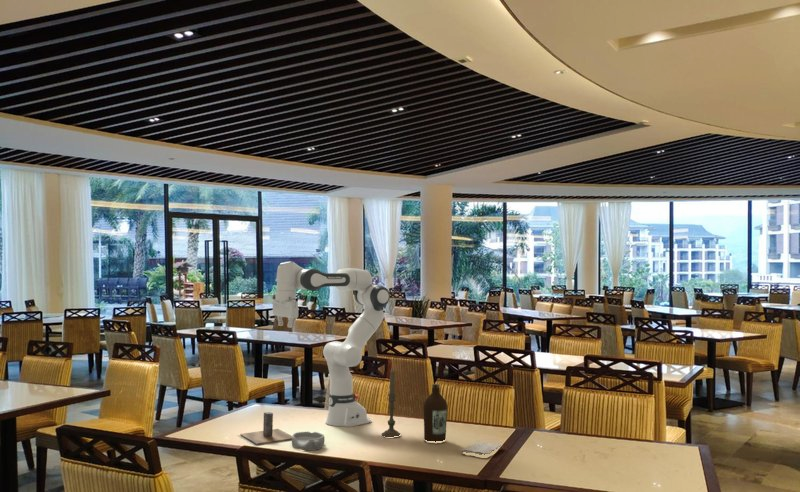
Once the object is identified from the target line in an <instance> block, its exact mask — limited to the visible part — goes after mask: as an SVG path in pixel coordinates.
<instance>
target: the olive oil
mask: <svg viewBox="0 0 800 492" xmlns="http://www.w3.org/2000/svg"><path fill="white" fill-rule="evenodd" d="M431 386H432V387H431V394H430V395H429V396H427V398H425V400H424V403H423V436H424V437H423V439H425V440H427V441H435V442H436V441H443V440H445V439H446V438H447V437H446V436H447V421H448V420H447V419H448V403H447V401H446V399H445V397H443V395H441V393H440V391H441V390H440V384H438V383H433V384H432V385H431ZM446 440H447V439H446Z"/></svg>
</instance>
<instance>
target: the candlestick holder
mask: <svg viewBox="0 0 800 492" xmlns="http://www.w3.org/2000/svg"><path fill="white" fill-rule="evenodd" d="M389 373H390V374H389V393H388V394H387V396H388V402H389V403H390V404H389V408H388V409H389V419H388V420H387V424H388V428H387V429H386V430H385V431H384V432H382V433H381V435H382V436H385V437H394V436H399V435H400V434H401V433H400V432H399V431H397V430H395V428H394V426H395V425H396V421H395V419H394V410H395V405H394V403H395V402H396V397H397V394H396V393H395V391H396V390H395V389H396V387H395V385H396V383H395V382H396V380H395V379H396V378H395V377H396V374H395V373H396V371H395V370H394V369H392V370H390V372H389ZM381 435H380V436H381ZM382 436H381V437H382ZM385 437H384V438H385Z"/></svg>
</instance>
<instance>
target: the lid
mask: <svg viewBox="0 0 800 492" xmlns="http://www.w3.org/2000/svg"><path fill="white" fill-rule="evenodd" d="M273 421H274V413H273V412H271V411H267V412H263V427H262V428H263V430H260V431H252V432H245V433H240V434H239V435H240V436H242V437H243V438H245V439H247V440H248V441H250V442H252V443H253V444H255V445H262V446H264V445H263V444H268V445H271V444H270V443H275V444H277V443H276V442H282V443H284V442H283V441H288V442H290V441H289V440H292V435H291V434H289V433H287V432H285V431H283V430H281V429H279V428H274V422H273Z"/></svg>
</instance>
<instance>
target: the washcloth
mask: <svg viewBox="0 0 800 492" xmlns="http://www.w3.org/2000/svg"><path fill="white" fill-rule="evenodd" d="M501 445H502V444H500V443H499V444H498V443H491V442H490V443H488V442H485V441H476V442H474V443H472V444H469V445H468V446H465V448H462V450H461V453H463V452H466V453H475V454H479V455H482V454H484V455H485V454H490V453H491V452H492V451H494V450H495V449H497V448H498V447H500V446H501Z"/></svg>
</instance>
